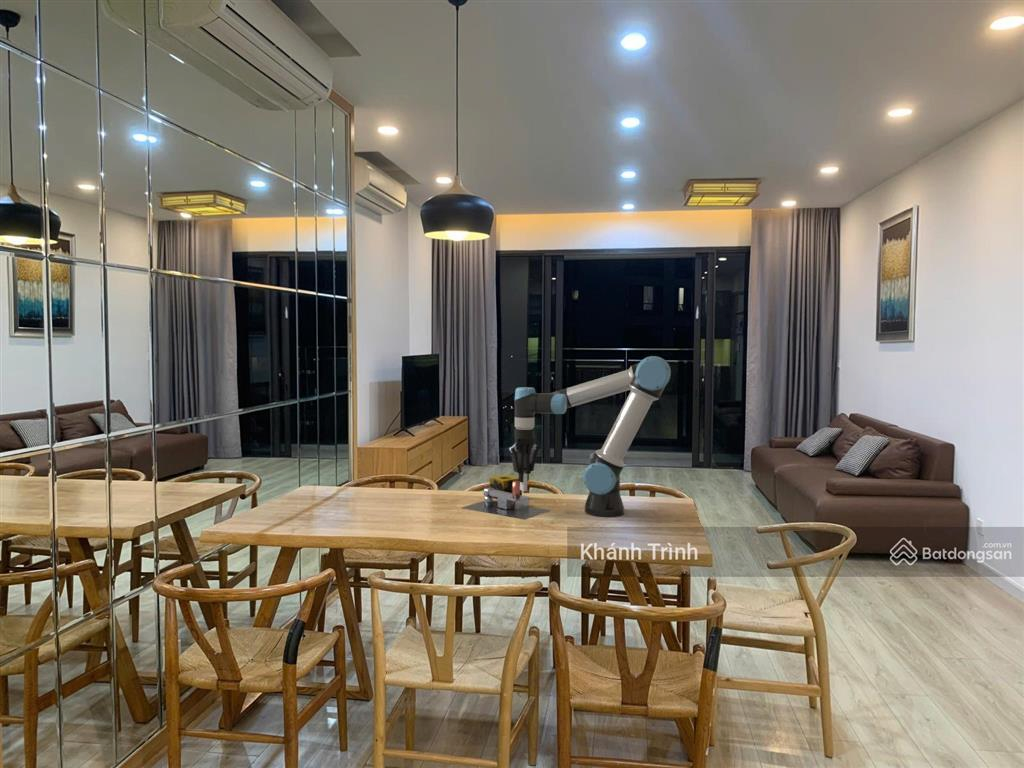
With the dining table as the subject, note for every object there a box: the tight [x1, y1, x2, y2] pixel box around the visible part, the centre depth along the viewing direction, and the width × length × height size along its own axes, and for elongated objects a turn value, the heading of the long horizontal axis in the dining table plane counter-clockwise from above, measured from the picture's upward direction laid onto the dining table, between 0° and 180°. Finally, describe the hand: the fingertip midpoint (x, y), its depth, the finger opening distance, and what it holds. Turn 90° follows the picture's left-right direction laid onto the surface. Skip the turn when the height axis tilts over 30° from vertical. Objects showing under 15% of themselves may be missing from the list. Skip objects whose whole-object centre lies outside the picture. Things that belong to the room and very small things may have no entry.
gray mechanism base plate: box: [461, 494, 551, 521], centre depth 255 cm, size 30×18×6 cm, turn 55°
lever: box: [483, 481, 520, 509], centre depth 255 cm, size 18×4×11 cm, turn 45°
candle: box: [489, 474, 523, 500], centre depth 276 cm, size 10×10×10 cm
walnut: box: [510, 500, 515, 509], centre depth 257 cm, size 4×4×4 cm
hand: (523, 490), depth 252 cm, fingers closed
